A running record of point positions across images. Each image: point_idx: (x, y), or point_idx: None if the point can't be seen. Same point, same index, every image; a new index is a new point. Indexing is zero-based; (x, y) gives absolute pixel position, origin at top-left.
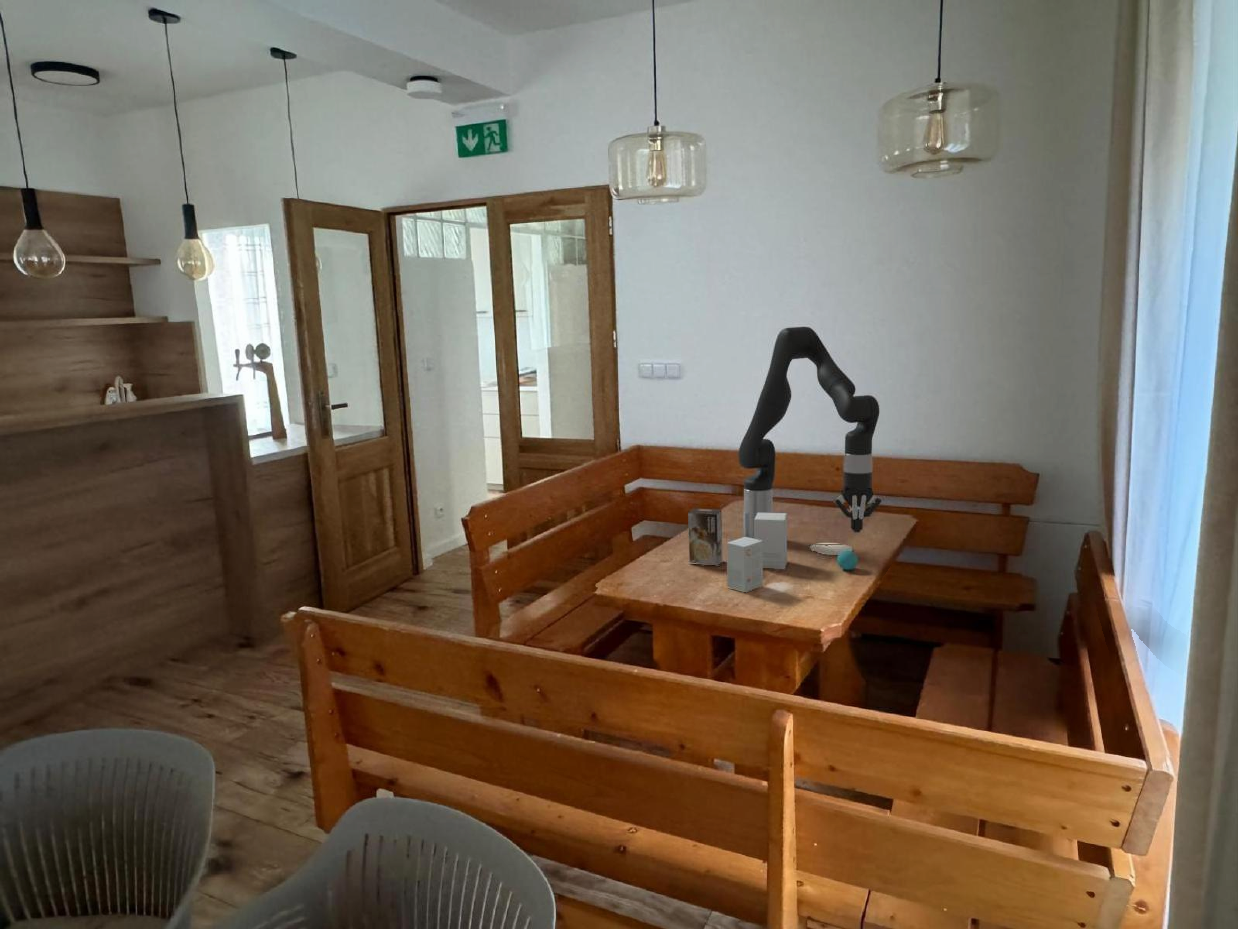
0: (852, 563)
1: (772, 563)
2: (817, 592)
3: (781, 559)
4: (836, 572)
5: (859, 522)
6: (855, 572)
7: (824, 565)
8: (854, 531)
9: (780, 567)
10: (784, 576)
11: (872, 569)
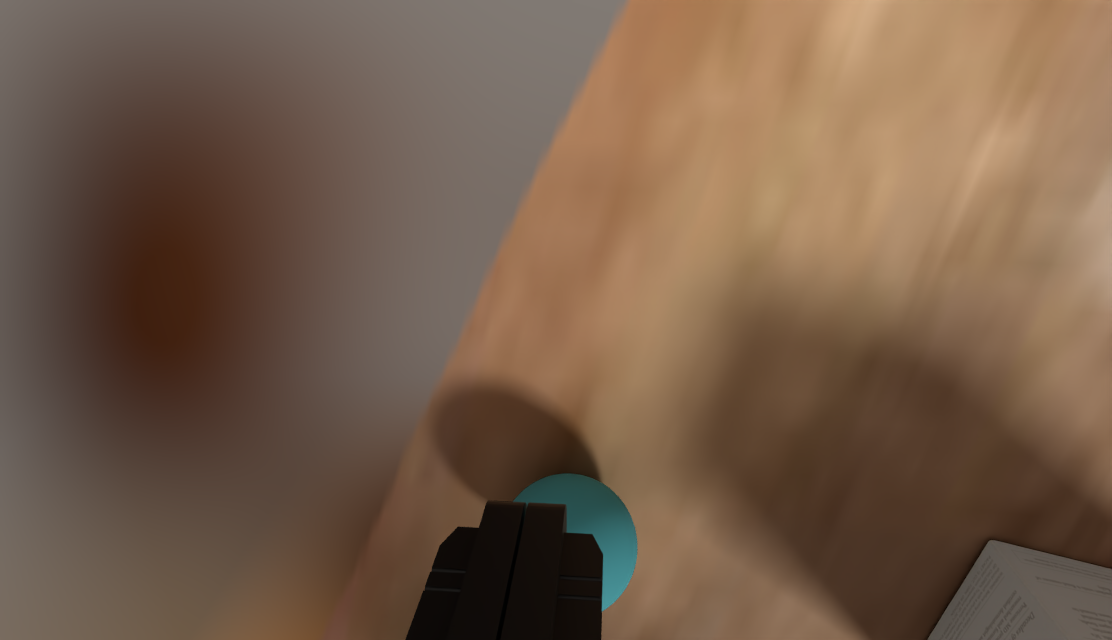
0: (547, 485)
1: (1097, 586)
2: (960, 27)
3: (1056, 597)
4: (656, 458)
5: (470, 612)
6: (532, 447)
7: (691, 585)
8: (565, 524)
9: (1025, 554)
10: (1052, 415)
11: (414, 488)
